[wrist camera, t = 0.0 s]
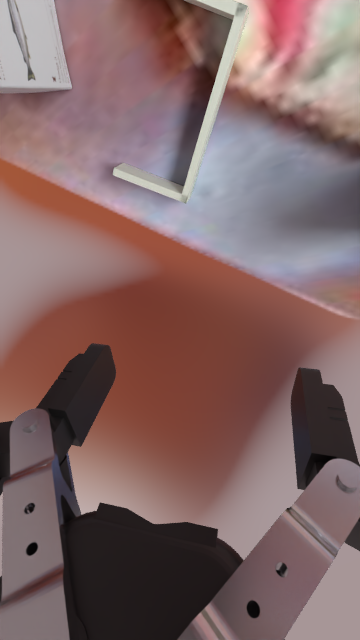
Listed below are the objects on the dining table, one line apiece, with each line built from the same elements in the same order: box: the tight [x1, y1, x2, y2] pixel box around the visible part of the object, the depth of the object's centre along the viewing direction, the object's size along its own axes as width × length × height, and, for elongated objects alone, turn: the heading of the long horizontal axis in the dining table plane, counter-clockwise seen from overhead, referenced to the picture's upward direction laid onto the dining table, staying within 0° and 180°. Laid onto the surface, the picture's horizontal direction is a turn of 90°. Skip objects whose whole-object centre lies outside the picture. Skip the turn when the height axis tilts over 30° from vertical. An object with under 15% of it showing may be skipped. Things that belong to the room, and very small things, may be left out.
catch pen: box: [113, 0, 249, 203], centre depth 31 cm, size 9×17×3 cm, turn 163°
